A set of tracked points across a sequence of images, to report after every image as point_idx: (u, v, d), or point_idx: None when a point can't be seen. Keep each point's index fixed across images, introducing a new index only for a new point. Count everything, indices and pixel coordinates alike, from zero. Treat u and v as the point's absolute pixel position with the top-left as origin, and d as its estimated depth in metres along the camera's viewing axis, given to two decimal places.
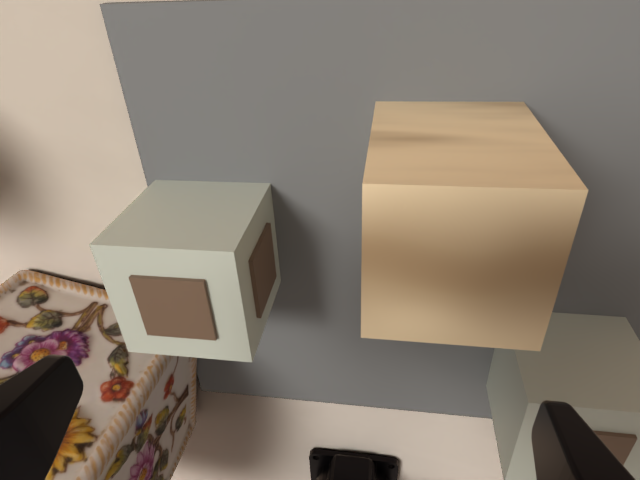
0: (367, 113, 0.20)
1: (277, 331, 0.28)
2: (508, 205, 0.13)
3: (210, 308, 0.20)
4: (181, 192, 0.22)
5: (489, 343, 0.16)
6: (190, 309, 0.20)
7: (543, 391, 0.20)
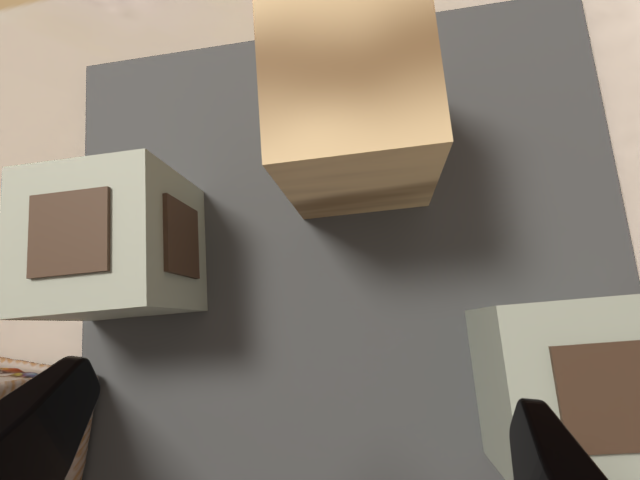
0: None
1: (199, 394, 0.22)
2: None
3: (109, 224, 0.17)
4: None
5: (398, 143, 0.15)
6: (86, 227, 0.17)
7: None
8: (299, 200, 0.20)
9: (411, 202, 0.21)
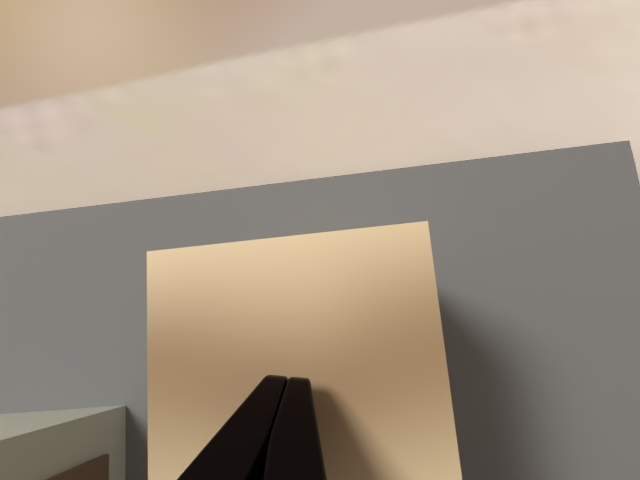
0: None
1: None
2: (334, 257, 0.10)
3: None
4: None
5: None
6: None
7: None
8: None
9: None
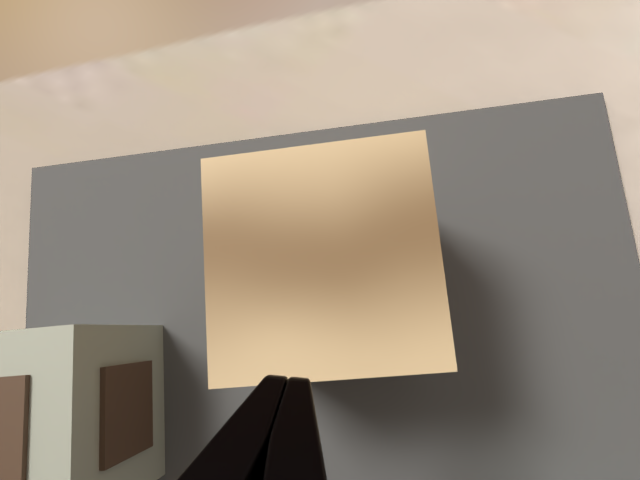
0: None
1: None
2: (351, 159, 0.12)
3: (26, 424, 0.14)
4: None
5: (385, 370, 0.11)
6: None
7: None
8: None
9: None
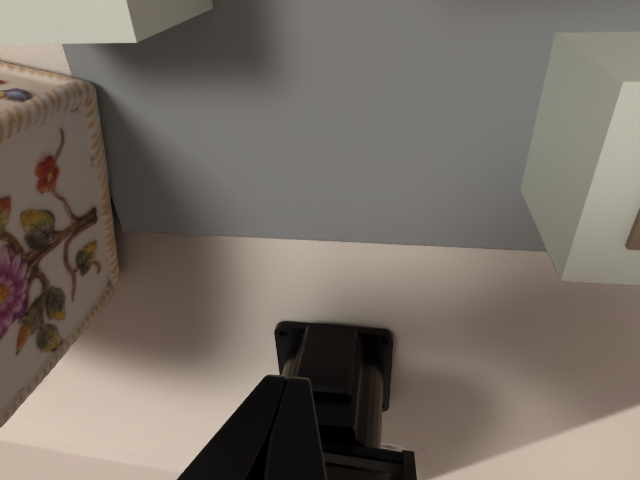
0: None
1: (215, 111, 0.19)
2: None
3: None
4: None
5: None
6: None
7: None
8: None
9: None
